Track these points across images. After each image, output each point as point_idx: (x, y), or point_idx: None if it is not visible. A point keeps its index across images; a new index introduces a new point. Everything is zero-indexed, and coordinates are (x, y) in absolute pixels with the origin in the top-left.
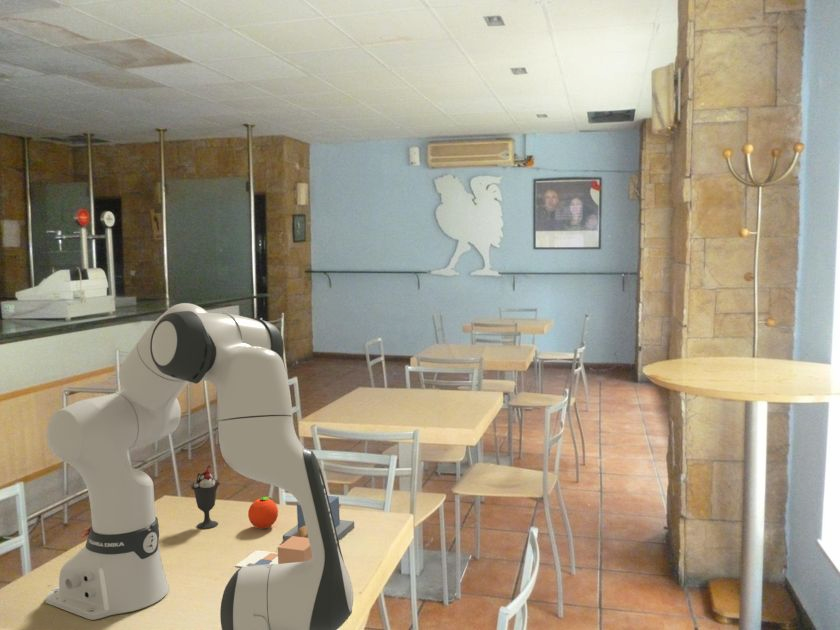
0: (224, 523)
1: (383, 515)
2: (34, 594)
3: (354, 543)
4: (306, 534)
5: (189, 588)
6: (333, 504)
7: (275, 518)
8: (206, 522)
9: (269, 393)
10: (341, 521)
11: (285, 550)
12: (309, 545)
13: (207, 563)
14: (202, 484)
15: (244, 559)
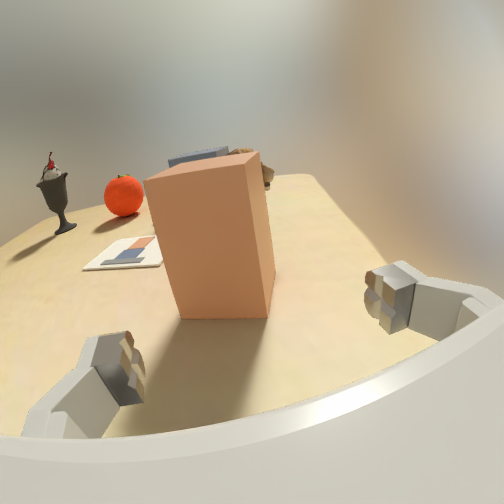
0: (83, 223)
1: (278, 177)
2: None
3: (273, 201)
4: None
5: (4, 327)
6: (224, 153)
7: (140, 198)
8: (62, 225)
9: None
10: None
11: (171, 183)
12: (249, 157)
13: (46, 273)
14: (45, 177)
15: (98, 255)
